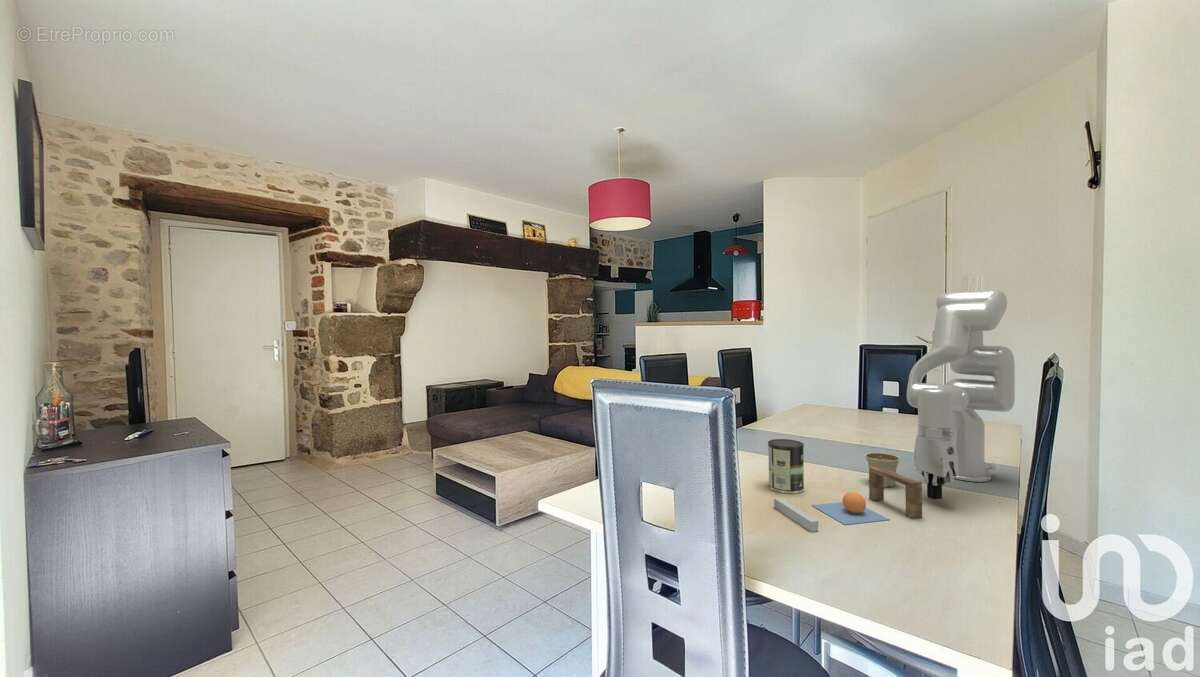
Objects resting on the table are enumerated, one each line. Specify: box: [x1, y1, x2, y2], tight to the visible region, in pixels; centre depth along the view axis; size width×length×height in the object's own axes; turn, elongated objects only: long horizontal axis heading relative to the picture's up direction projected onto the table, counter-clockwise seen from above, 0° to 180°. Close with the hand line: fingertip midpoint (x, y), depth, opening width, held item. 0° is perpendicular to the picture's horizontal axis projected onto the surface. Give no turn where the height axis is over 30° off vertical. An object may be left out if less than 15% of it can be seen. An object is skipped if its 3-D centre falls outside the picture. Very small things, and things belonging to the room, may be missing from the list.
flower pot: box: [864, 452, 901, 488], centre depth 146 cm, size 9×9×9 cm
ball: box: [841, 491, 867, 514], centre depth 124 cm, size 6×6×6 cm
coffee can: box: [767, 438, 805, 495], centre depth 144 cm, size 10×10×14 cm
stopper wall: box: [773, 497, 819, 533], centre depth 121 cm, size 2×16×2 cm, turn 11°
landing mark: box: [811, 501, 890, 526], centre depth 124 cm, size 13×13×1 cm
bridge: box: [868, 466, 923, 520], centre depth 127 cm, size 3×14×9 cm, turn 11°
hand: (934, 498), depth 129 cm, fingers closed
